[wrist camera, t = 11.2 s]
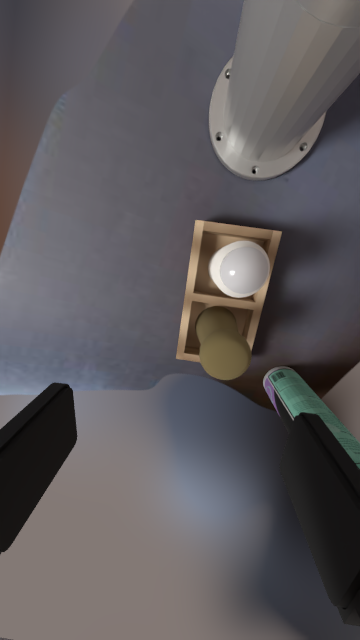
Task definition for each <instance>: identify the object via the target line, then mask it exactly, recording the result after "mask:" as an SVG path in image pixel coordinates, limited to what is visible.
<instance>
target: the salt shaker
mask: <svg viewBox="0 0 360 640" xmlns="http://www.w3.org/2000/svg"><path fill="white" fill-rule="evenodd" d="M269 271H270V262H269V258H268V256H267V254H266V252H265V251H264V249H263V248H262V247H260V246H259V245H258V244H256V243H254V242H251V241H237V242H234V243H231V244H229V245H226V246H224V247H222V248H220V249H218V250H216V251H215V252H214V253H213V254H212V256H211V257H210V259H209V262H208V273H209V276H210V278H211V279H212V281H213V282H214V283H215V284H216V285H217V286H218V288H219V289H220V290H221V291H222V292H224V293H225V294H227V295H229V296H231V297H237V298H242V297H247V296H250V295H252V294H254V293H256V292H257V291H259V290H260V289H261V288H262V287H263V285H264V284H265V282H266V281H267V278H268V276H269Z"/></svg>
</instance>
